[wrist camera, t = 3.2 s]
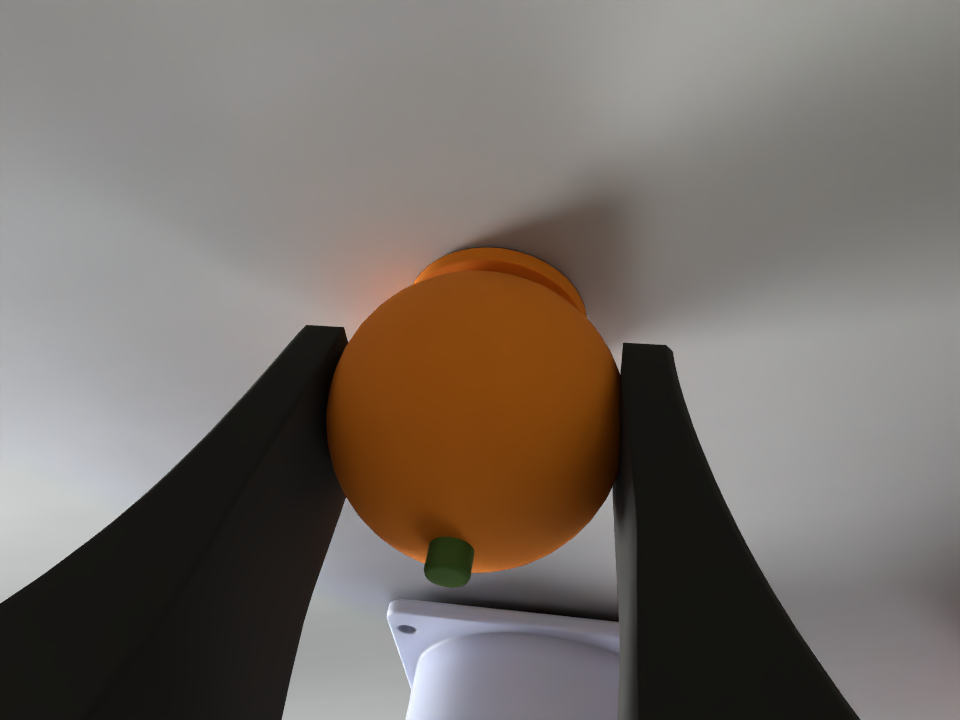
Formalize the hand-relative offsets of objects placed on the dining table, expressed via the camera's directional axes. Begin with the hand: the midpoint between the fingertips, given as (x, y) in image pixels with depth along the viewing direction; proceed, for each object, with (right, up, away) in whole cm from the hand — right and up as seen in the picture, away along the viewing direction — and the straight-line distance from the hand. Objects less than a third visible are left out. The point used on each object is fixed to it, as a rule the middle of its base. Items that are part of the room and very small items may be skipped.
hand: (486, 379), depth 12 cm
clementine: (0, +1, +1) cm, 1 cm away
